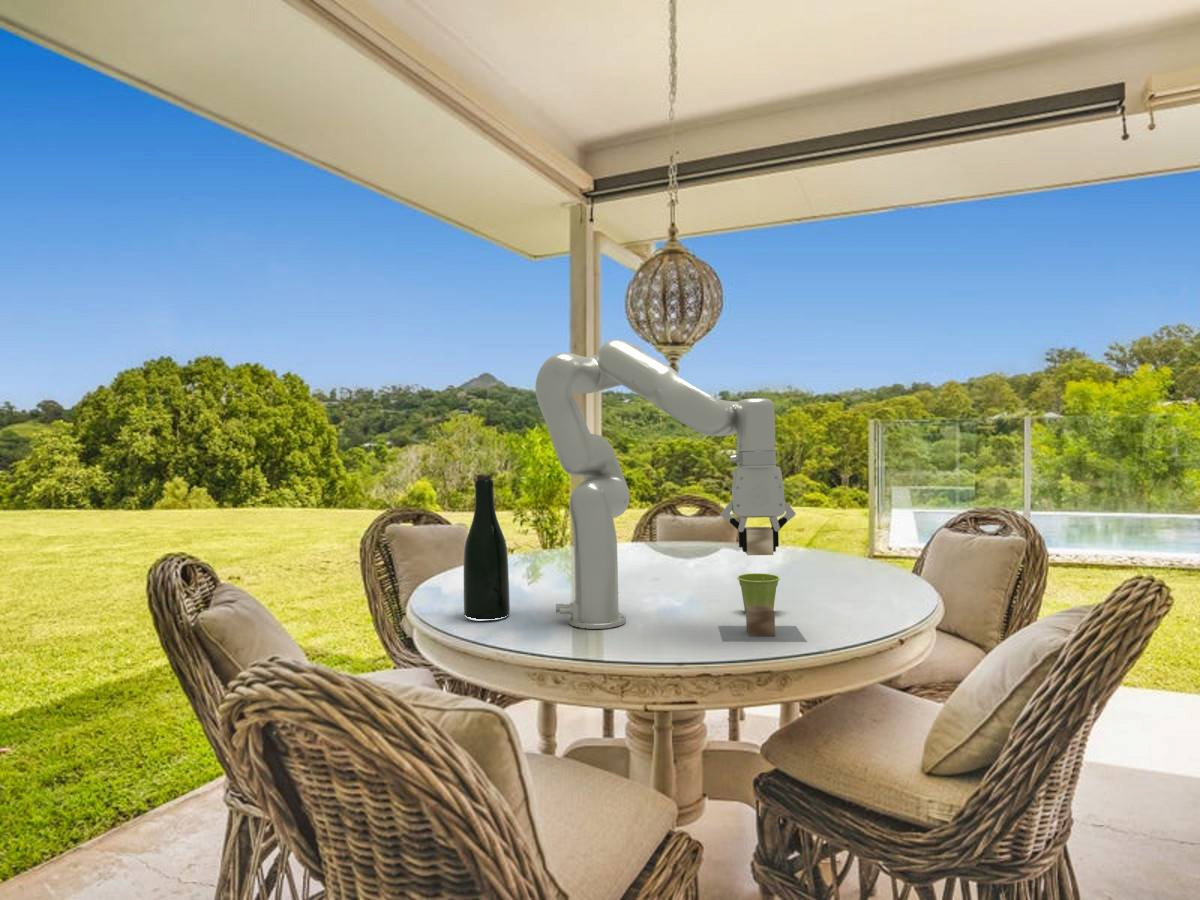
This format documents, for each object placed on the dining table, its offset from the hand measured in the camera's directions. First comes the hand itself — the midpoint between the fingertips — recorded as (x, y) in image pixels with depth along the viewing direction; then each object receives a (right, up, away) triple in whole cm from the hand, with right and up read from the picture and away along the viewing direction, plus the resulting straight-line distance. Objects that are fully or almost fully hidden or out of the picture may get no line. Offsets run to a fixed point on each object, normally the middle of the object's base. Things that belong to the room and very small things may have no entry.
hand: (758, 549), depth 145 cm
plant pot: (+4, -17, +18) cm, 25 cm away
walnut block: (0, -17, 0) cm, 17 cm away
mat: (0, -17, 0) cm, 17 cm away
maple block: (0, -1, 0) cm, 1 cm away
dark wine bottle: (-58, -19, +21) cm, 65 cm away
